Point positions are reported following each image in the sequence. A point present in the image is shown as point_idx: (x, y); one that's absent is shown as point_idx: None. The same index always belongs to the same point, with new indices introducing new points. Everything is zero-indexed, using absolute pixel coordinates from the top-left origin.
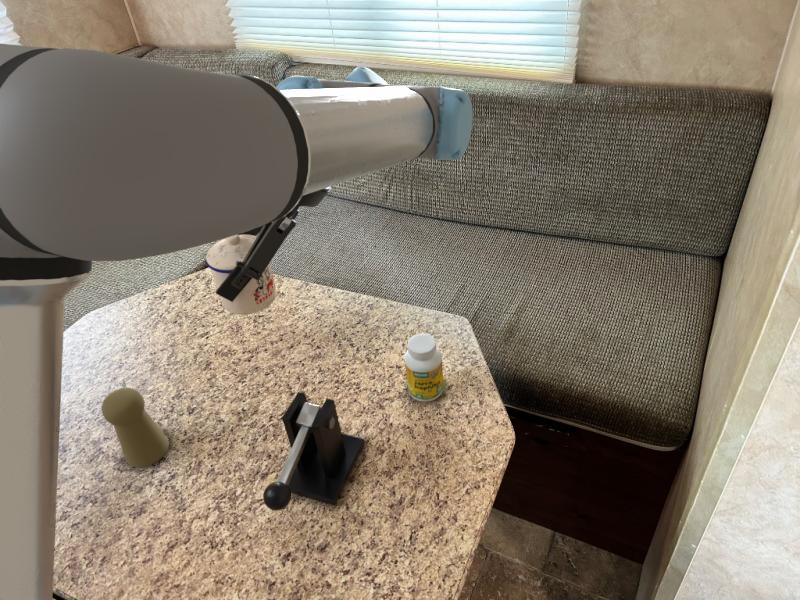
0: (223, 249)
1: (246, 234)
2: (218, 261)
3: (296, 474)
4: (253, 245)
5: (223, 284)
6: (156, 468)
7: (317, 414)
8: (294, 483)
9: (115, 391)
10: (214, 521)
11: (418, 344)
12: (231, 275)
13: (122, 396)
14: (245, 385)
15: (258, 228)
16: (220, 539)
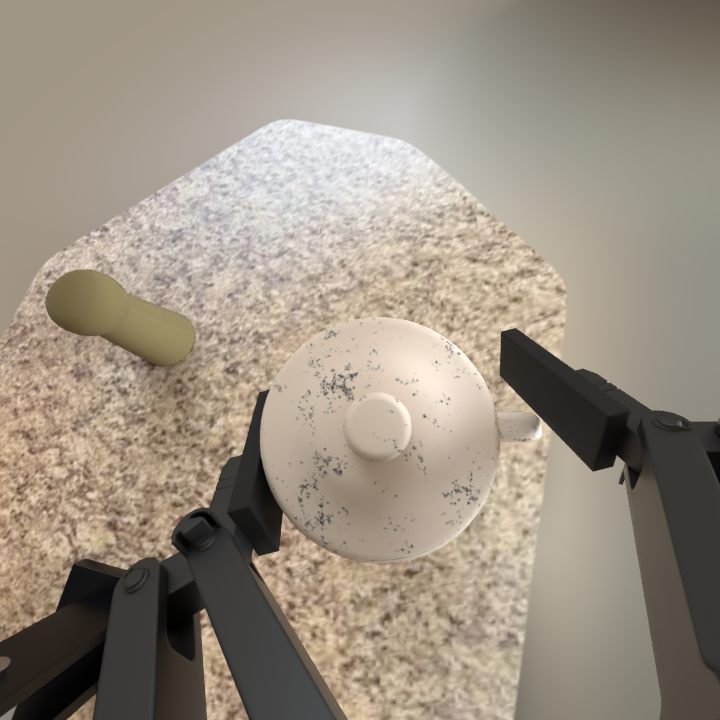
0: (327, 397)
1: (547, 395)
2: (287, 390)
3: (86, 590)
4: (239, 631)
5: (252, 420)
6: (138, 364)
7: None
8: (71, 591)
9: (88, 279)
10: (52, 476)
11: None
12: (242, 457)
13: (69, 298)
14: None
15: (580, 447)
16: (26, 495)
